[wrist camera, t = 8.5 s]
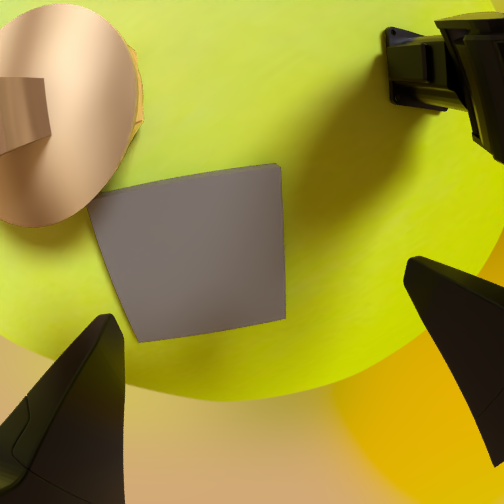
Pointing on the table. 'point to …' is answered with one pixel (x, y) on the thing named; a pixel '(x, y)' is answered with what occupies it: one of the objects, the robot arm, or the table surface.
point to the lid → (61, 111)
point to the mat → (196, 251)
